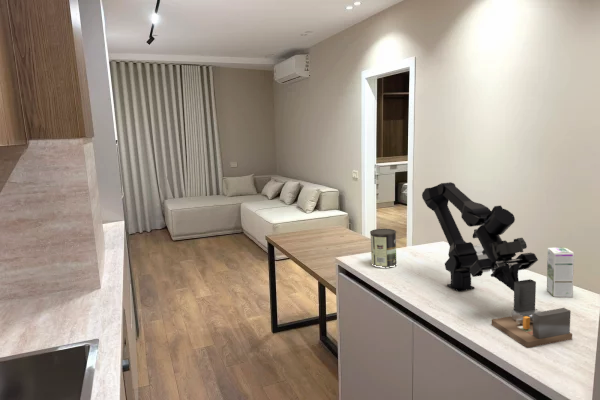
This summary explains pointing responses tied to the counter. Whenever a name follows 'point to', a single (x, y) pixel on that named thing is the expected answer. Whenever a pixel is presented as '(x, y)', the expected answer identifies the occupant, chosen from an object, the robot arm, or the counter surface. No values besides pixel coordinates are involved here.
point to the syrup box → (560, 272)
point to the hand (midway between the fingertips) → (517, 292)
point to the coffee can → (383, 247)
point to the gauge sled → (524, 300)
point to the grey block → (480, 254)
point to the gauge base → (523, 335)
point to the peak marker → (526, 322)
